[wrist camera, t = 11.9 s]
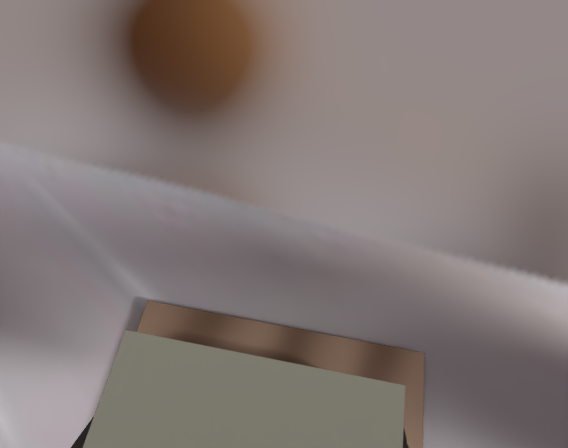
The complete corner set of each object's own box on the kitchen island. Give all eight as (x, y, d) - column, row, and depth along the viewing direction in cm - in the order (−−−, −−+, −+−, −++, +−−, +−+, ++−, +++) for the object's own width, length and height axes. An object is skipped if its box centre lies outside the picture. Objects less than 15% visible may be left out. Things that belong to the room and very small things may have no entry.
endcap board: (419, 354, 28) (441, 346, 24) (413, 611, 22) (441, 650, 18) (151, 304, 29) (134, 288, 26) (73, 534, 23) (36, 556, 19)
